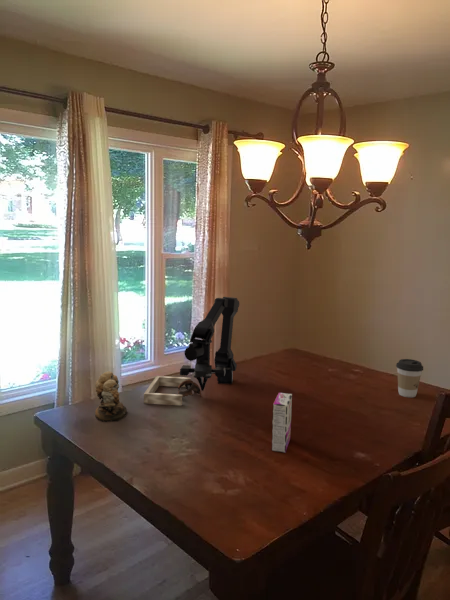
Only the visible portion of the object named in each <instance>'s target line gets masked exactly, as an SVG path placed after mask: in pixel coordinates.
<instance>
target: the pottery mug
mask: <svg viewBox="0 0 450 600" xmlns="http://www.w3.org/2000/svg"><path fill="white" fill-rule="evenodd" d="M184 384H185V387H184V388H186V389H185V390H181V388H183V387H182V386H183V385H184ZM177 394H180V395H182V398H185V397H188V396H193V394H197V395H199V397H200V398H203V397H202V390H201V387H200V385H198V384H197V383H196V382H195V381H193V380H192V379H191V380H190V379H188V380H186V381H183V382H182V383H181V384H180V385H179V386H178V387H177Z"/></svg>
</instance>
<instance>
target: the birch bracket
mask: <svg viewBox="0 0 450 600" xmlns="http://www.w3.org/2000/svg"><path fill="white" fill-rule="evenodd" d="M188 379H190V380H191V381H192V377H186V376H185V377H183V376H164V375H156V376H155V378H154V379H153V380H152V382H151V383H150V385H149V386H148V387H147V389H146V390H145V391H144V393H143V404H148V405H149V404H150V405H167V406H168V405H170V406H183V397H182V395H180V394H178V393H177V394H174V393H159V392H156V391H157V390H158V389H159V387H163V386H164V387H175V388H178V386H179V385H180V384H181V383H182V382H183V381H186V380H188ZM181 388H186V387H185V384H184V385H183V386H182V387H181Z"/></svg>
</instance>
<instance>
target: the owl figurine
mask: <svg viewBox="0 0 450 600" xmlns="http://www.w3.org/2000/svg"><path fill="white" fill-rule="evenodd" d="M119 388H120V384H119V379H118V376H117V375H115V374H114V373H113V372H112V371H104V372H103V373H102V374H100V375H99V377H98V379H97V380H96V381H95V392H96V396H97V398H98V400H100V404H99V405H98V406H97V407H96V409H95V412H94V414H95V418H96V419H97V420H98V421H100V422H105V423H108V422H118V421H122V420H123V419H124V418H125V417H126V416H127V414H128V409H127V407H126V406H125V405H124V404H123V402H121V401H120V393H119Z"/></svg>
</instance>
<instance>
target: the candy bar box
mask: <svg viewBox="0 0 450 600" xmlns="http://www.w3.org/2000/svg"><path fill="white" fill-rule="evenodd" d="M277 393H278V394H277V395H276V398H275V400H274V401H273V404H272V426H271V427H272V431H271V434H272V436H271V451H273V452H278V453H285V454H286V453H287V450H288V446H289V443H290V440H291V435H292V434H291V433H292V432H291V431H292V430H291V429H292V408H293V407H292V403H293V401H292V400H293V393H287V392H277Z"/></svg>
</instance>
